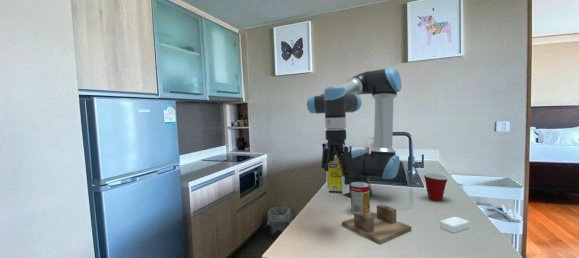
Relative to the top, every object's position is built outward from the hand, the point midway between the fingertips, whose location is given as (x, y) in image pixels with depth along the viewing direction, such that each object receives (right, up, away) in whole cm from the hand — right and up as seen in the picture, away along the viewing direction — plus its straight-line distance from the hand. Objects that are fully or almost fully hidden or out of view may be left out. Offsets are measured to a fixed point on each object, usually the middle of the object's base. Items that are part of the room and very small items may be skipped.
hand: (337, 189), depth 96 cm
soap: (+43, -14, -1) cm, 45 cm away
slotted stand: (+14, -14, +1) cm, 20 cm away
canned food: (+13, -14, +18) cm, 26 cm away
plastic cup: (+53, -12, +29) cm, 62 cm away
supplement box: (0, 0, 0) cm, 0 cm away
